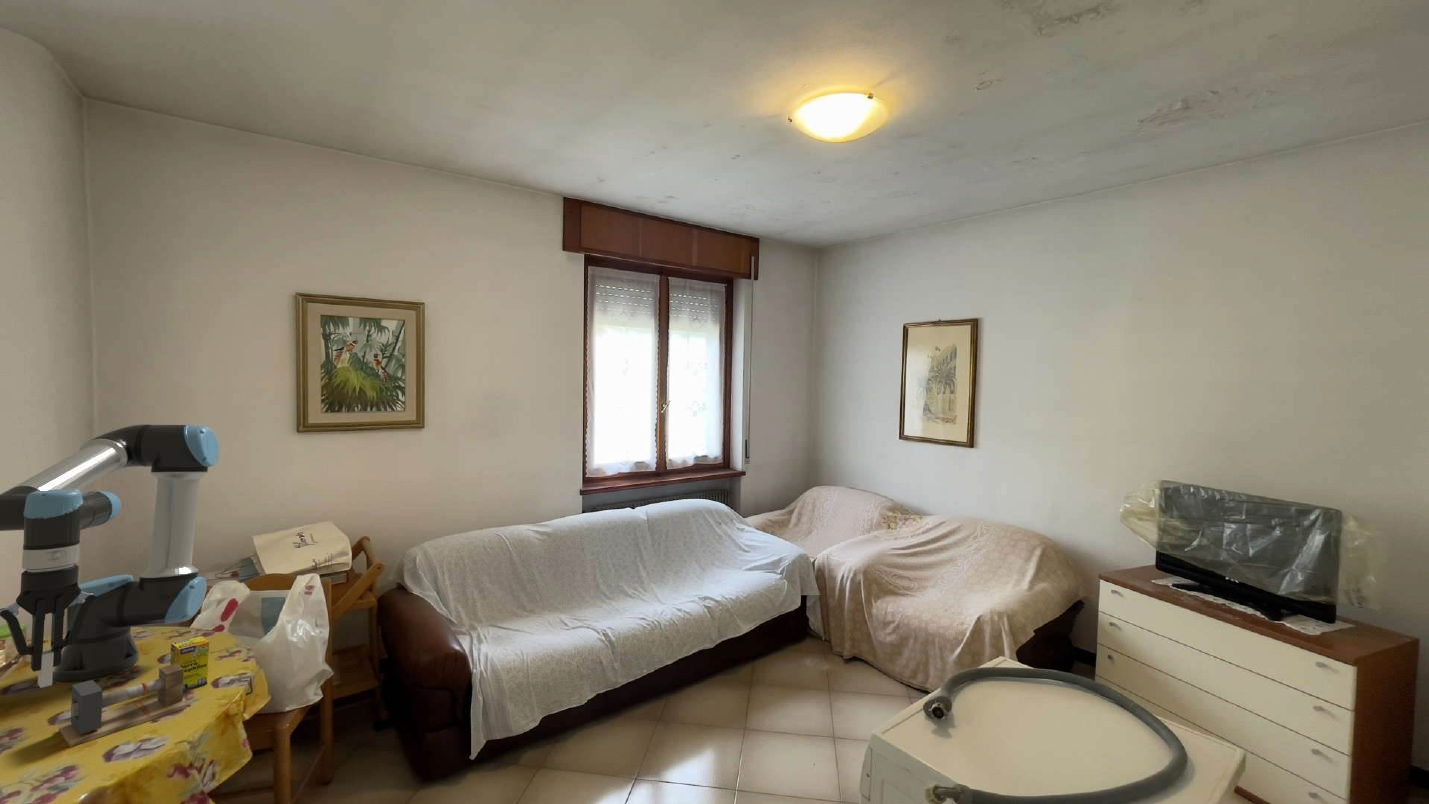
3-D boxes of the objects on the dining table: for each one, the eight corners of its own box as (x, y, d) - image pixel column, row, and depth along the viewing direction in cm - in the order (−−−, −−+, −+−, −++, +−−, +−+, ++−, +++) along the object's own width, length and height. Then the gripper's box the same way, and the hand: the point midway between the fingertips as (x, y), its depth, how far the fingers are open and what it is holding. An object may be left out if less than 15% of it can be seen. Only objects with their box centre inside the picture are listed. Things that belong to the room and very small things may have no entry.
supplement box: (176, 694, 137) (178, 649, 137) (168, 686, 140) (170, 643, 141) (208, 684, 142) (209, 641, 142) (199, 677, 146) (201, 635, 146)
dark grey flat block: (80, 734, 118) (81, 696, 118) (70, 722, 122) (72, 685, 122) (101, 727, 120) (102, 690, 120) (91, 716, 124) (92, 679, 124)
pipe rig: (70, 746, 116) (72, 705, 116) (58, 730, 121) (60, 691, 121) (185, 708, 131) (187, 672, 131) (171, 695, 136) (172, 660, 136)
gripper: (2, 577, 106) (-4, 703, 106) (102, 563, 117) (97, 677, 117) (-5, 571, 110) (-11, 692, 110) (93, 557, 121) (87, 667, 121)
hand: (44, 684), depth 113 cm, fingers closed
